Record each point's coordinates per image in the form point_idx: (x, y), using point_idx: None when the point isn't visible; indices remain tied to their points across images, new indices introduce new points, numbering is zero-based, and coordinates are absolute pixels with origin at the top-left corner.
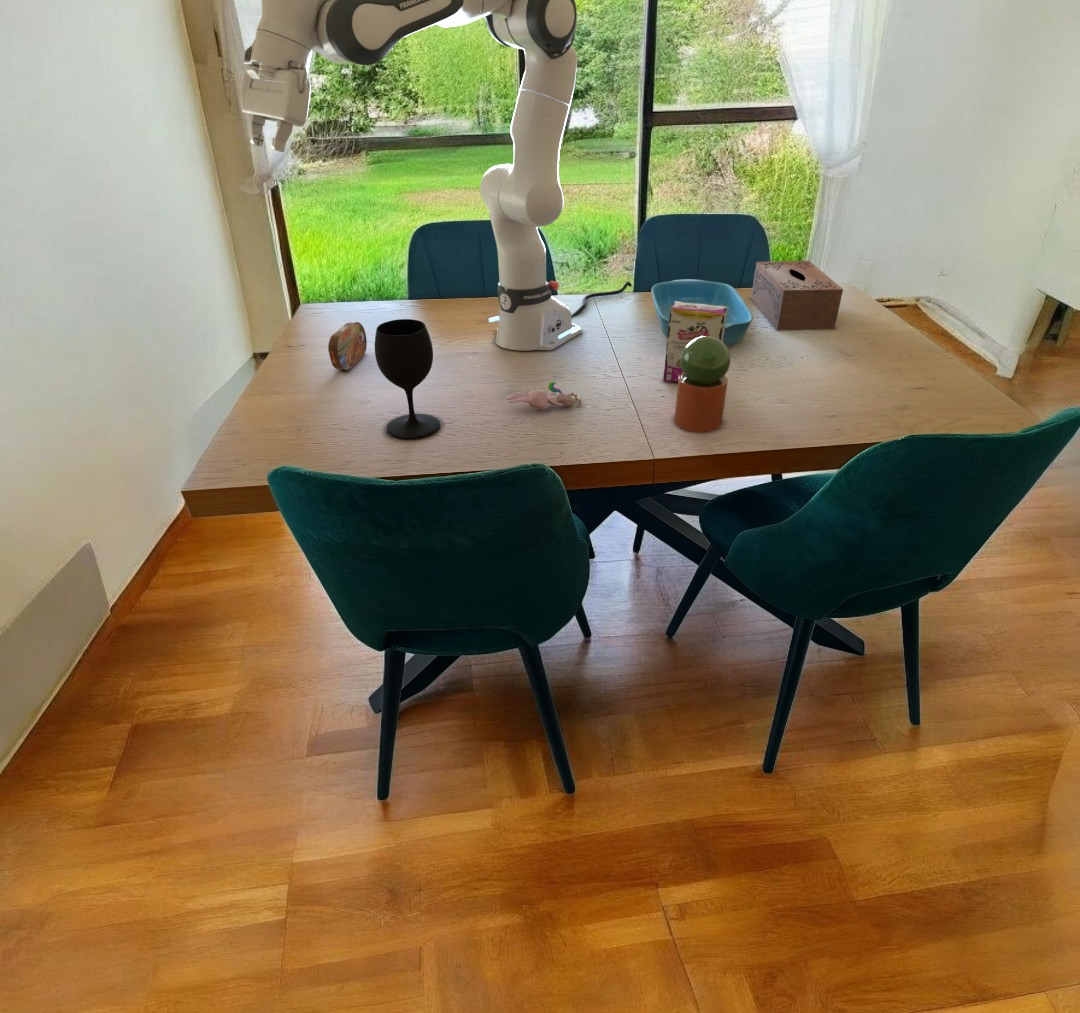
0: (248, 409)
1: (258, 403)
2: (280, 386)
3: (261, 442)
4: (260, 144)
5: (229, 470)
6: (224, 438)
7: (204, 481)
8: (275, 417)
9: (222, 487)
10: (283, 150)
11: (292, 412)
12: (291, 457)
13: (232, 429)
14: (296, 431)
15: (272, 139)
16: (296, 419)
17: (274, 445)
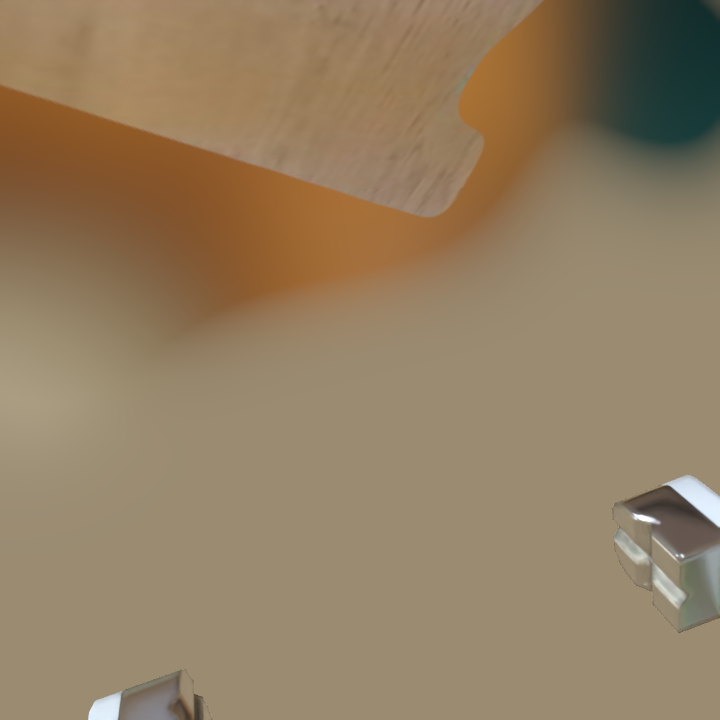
0: (167, 119)
1: (137, 92)
2: (24, 15)
3: (351, 109)
4: (185, 688)
5: (420, 170)
6: (295, 174)
7: (429, 205)
8: (243, 64)
9: (464, 182)
10: (692, 484)
11: (232, 17)
12: (446, 62)
13: (261, 158)
14: (342, 29)
15: (669, 617)
16: (279, 16)
17: (378, 87)
